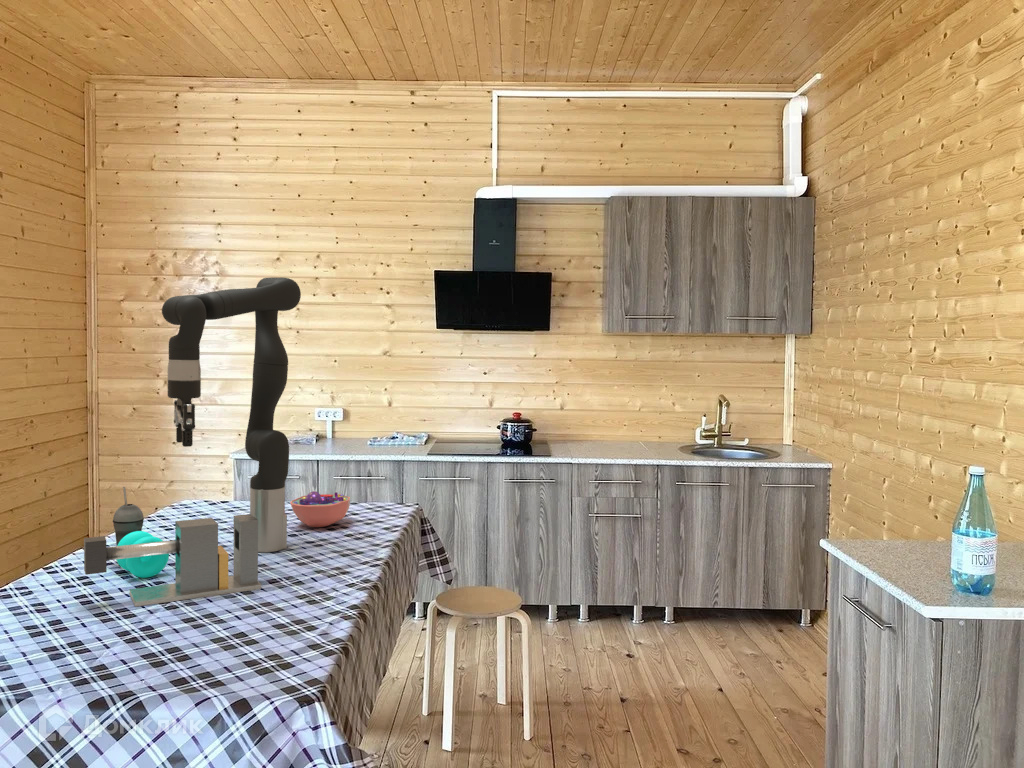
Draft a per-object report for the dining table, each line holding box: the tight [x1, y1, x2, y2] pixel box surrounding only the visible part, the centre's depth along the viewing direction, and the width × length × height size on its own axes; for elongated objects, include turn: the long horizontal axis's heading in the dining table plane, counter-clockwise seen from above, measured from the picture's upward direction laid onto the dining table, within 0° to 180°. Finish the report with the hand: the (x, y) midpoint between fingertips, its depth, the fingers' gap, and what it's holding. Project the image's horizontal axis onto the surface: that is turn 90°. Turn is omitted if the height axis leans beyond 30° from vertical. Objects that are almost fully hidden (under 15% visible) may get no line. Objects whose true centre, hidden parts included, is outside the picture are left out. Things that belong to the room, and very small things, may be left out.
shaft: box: [83, 535, 180, 576], centre depth 178 cm, size 26×4×7 cm, turn 122°
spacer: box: [218, 545, 229, 589], centre depth 187 cm, size 2×8×8 cm, turn 32°
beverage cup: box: [112, 486, 145, 568], centre depth 203 cm, size 7×7×20 cm
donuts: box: [115, 530, 170, 579], centre depth 196 cm, size 10×10×10 cm
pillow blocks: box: [128, 513, 263, 608], centre depth 184 cm, size 27×10×16 cm, turn 122°
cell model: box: [289, 490, 351, 528], centre depth 251 cm, size 17×20×11 cm
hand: (184, 444), depth 196 cm, fingers open, 8 cm apart
